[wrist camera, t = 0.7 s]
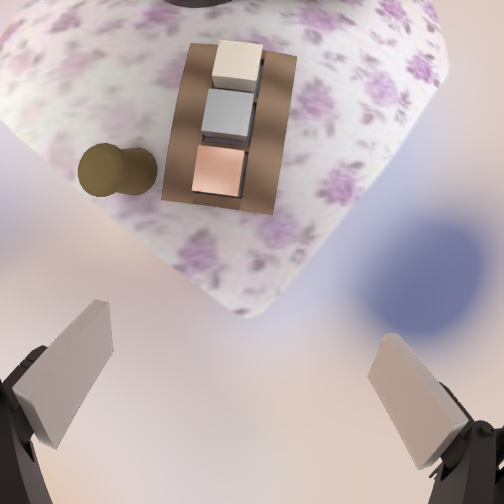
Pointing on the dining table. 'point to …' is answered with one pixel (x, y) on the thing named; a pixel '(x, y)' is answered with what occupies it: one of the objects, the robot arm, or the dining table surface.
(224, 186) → the key terracotta
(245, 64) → the cream cube
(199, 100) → the wooden slotted tray
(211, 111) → the key slate
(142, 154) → the pepper shaker
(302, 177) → the dining table surface
